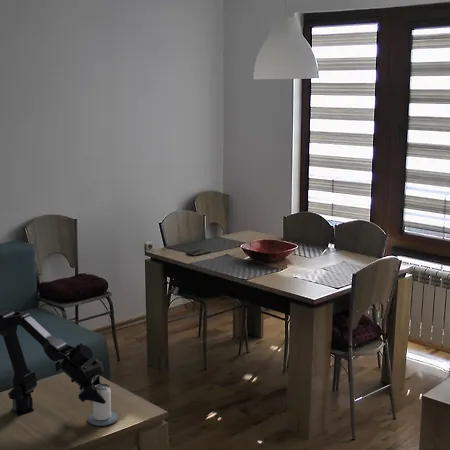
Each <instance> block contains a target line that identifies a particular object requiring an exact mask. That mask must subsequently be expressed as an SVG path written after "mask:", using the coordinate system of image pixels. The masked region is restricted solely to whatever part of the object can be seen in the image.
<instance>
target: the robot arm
mask: <svg viewBox="0 0 450 450" xmlns="http://www.w3.org/2000/svg"><path fill="white" fill-rule="evenodd" d="M18 326H20V327H22V329H23V330H25V331H26V332H27V333H28V334H29V335H30V336H31V337H32V338H33V339H34V340H35V341H36V342H38V343H39V345H40V346H41V347H42V349H43V352H44V354H45V355H46V356H47V357H48V358H49V360H50V361H52V362H56V363H55V364H54V366H55V373H57V372H58V371H60V370H61V371H62V372H63V373H64V374H65V375H66V376H67V377H69V378H70V382H71V383H72V384H73V383H75V384H76V385H77V386H78V389H79V390H80V391H79V393H78V399H79V401H81V402H82V403H83V402H85V401H91V402H93V401H94V402H98V403H102V404H105V403H106V401H105V400H104V399H103V397H102V396H101V395H100V394H99V393H98V391H97V386H96V387H95V385H98V384H102V382H101V375H103V374H104V371H105V368H104V366H103V362H101V361H99V360H98V359H97V358H95V359H93V360H92V361H91V364H90V365H89V366H86V365H85V364H86V363H87V362H88V361H90V360H91V359H92V358H93V356H94V354H93V352H94V351H93V350H92V349H91V347H89V346H88V345H84V344H83V343H82V342H79V343H78V344H77V345H76V346H72V345H69V344H68V343H66V342H65V341H64V340H63V339H62V338H59V337H55V336H54V335H52V334H50V333H49V331H47V330H46V329H45V328H44V327H43V326H42V325H41V324H39V323H38V322H37V321H36V319H34V318H33V317H32V315H31V314H30V312H27V311H24V312H23V311H12V310H9V309H8V310H5V311H3V312H0V336H1V337H2V338H3V340H4V344H5V347H6V350H7V354H8V357H9V361H10V363H11V367H12V369H13V379H12V384H13V388H12V389H11V390H10V391H9V392H8V394H7V395H8V398H9V399H10V400H12V408H10V411H12V412H13V413H14V414H16V416H22V415H25V414H28V413H31V412H34V411H35V409H34V407H33V406H34V404H33V397H32V393H34V391H35V389H36V388H37V386H38V381H39V380H38V378H37V377H36V371H34V370H30V369H28V366H27V362H26V360H25V356H24V353H23V350H22V347H21V344H20V341H19V337H18V334H17V331H18ZM60 360H61V361H60Z"/></svg>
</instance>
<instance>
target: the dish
mask: <svg viewBox="0 0 450 450" xmlns="http://www.w3.org/2000/svg"><path fill="white" fill-rule="evenodd" d="M118 419H119V416H118V414H117V412H114V411H111V417H110V418H109V419H107V420H103V421H100V420H96V419H95V418H94V414H93V413H91V414H89V416H88V417H87V421H88V423H89V424H91V425H93V426H97V427H101V426H102V427H103V426H107V425H108V426H109V425H112V424H114V423H116V422H117V421H118Z"/></svg>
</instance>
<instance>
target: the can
mask: <svg viewBox="0 0 450 450" xmlns="http://www.w3.org/2000/svg"><path fill="white" fill-rule="evenodd" d="M96 386H97V391H98V393H99V394H100V395H101V396H102V397H103V399H104V400H105V401H106V403H105V404H102V403H98V402H94V401H92V404H93V405H92V407H93V409H92V410H93V413H92V414H94V418H95V419H96V420H100V421H103V420H107V419H109V418H110V417H111V412H112V400H111V399H112V393H111V388H110V385H109V384H107V383H101V384H98V385H95V387H96Z"/></svg>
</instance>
